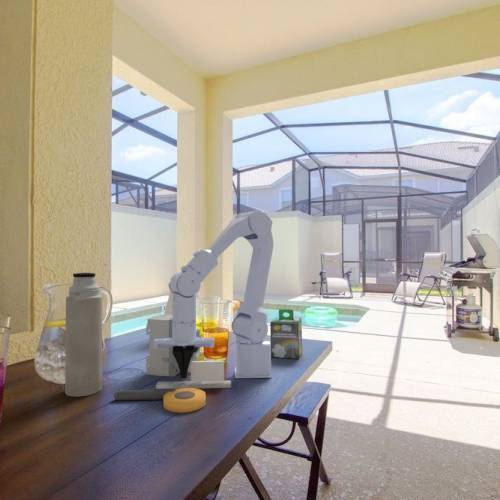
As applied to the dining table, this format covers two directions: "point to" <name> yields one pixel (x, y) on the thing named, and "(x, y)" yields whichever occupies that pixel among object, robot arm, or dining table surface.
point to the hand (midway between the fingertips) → (184, 377)
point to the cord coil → (184, 400)
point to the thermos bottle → (83, 337)
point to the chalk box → (286, 335)
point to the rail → (193, 384)
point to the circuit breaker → (163, 358)
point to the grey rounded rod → (141, 394)
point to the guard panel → (207, 371)
